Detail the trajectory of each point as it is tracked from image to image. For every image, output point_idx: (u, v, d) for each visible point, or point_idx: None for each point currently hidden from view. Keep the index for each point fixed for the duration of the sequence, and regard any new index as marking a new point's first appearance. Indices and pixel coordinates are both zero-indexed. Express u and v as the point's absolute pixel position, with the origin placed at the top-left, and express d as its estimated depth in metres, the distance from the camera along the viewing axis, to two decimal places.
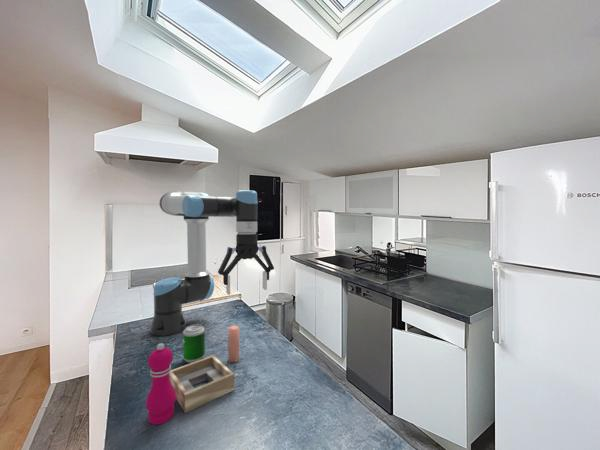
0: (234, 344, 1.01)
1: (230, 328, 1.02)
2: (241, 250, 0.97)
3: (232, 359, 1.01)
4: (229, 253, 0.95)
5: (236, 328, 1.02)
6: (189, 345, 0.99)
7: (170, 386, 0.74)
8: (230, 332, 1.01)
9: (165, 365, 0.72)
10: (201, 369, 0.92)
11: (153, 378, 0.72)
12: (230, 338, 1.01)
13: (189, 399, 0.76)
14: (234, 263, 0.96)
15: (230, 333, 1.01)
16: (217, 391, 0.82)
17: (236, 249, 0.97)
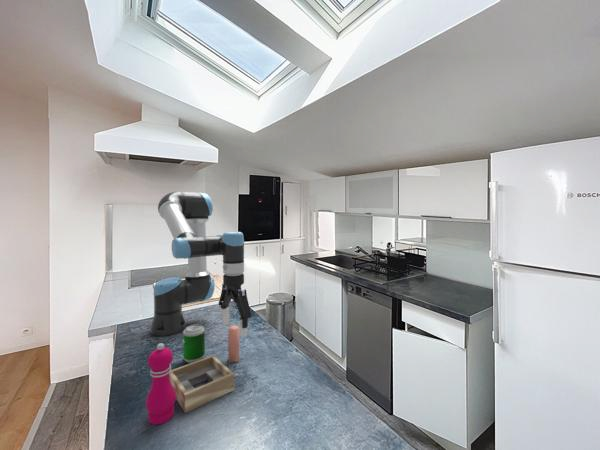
0: (234, 344, 1.01)
1: (230, 328, 1.02)
2: (228, 289, 1.03)
3: (232, 359, 1.01)
4: (222, 288, 1.06)
5: (236, 328, 1.02)
6: (189, 345, 0.99)
7: (170, 386, 0.74)
8: (230, 332, 1.01)
9: (165, 365, 0.72)
10: (201, 369, 0.92)
11: (153, 378, 0.72)
12: (230, 338, 1.01)
13: (189, 399, 0.76)
14: (224, 299, 1.05)
15: (230, 333, 1.01)
16: (217, 391, 0.82)
17: None
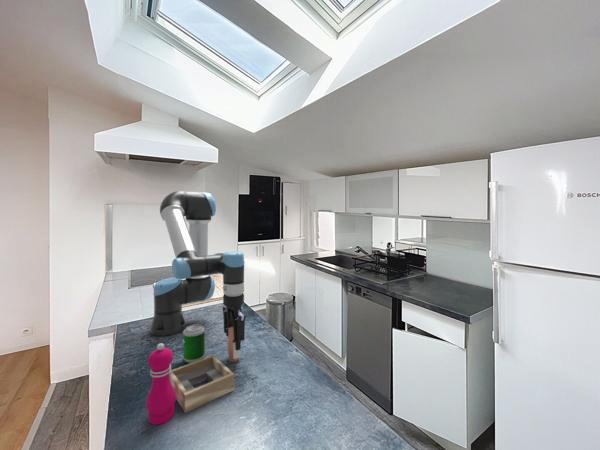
0: None
1: (230, 328, 1.02)
2: (228, 307, 1.03)
3: (232, 359, 1.01)
4: (223, 312, 1.05)
5: None
6: (189, 345, 0.99)
7: (170, 386, 0.74)
8: (230, 332, 1.01)
9: (165, 365, 0.72)
10: (201, 369, 0.92)
11: (153, 378, 0.72)
12: (230, 338, 1.01)
13: (189, 399, 0.76)
14: (227, 323, 1.03)
15: (230, 333, 1.01)
16: (217, 391, 0.82)
17: None
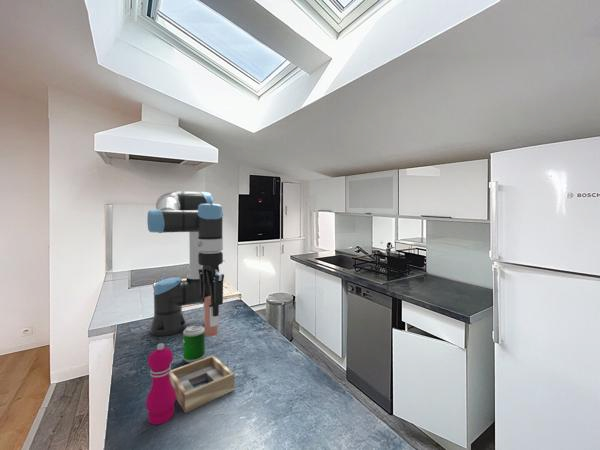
0: None
1: (207, 297, 0.88)
2: (204, 268, 0.89)
3: (209, 333, 0.87)
4: (199, 275, 0.92)
5: None
6: (189, 345, 0.99)
7: (170, 386, 0.74)
8: (206, 301, 0.87)
9: (165, 365, 0.72)
10: (201, 369, 0.92)
11: (153, 378, 0.72)
12: (207, 308, 0.87)
13: (189, 399, 0.76)
14: (204, 286, 0.90)
15: (207, 303, 0.87)
16: (217, 391, 0.82)
17: None
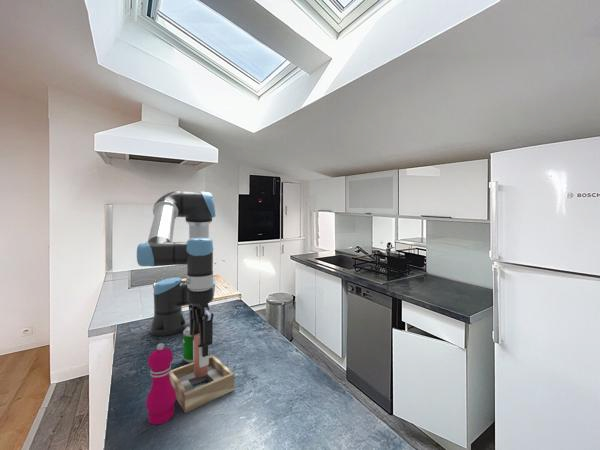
0: None
1: (196, 336, 0.84)
2: (193, 305, 0.86)
3: (198, 373, 0.83)
4: (189, 310, 0.88)
5: None
6: (189, 345, 0.99)
7: (170, 386, 0.74)
8: (196, 341, 0.83)
9: (165, 365, 0.72)
10: None
11: (153, 378, 0.72)
12: (196, 348, 0.83)
13: (189, 399, 0.76)
14: (193, 324, 0.86)
15: (196, 342, 0.83)
16: (217, 391, 0.82)
17: None
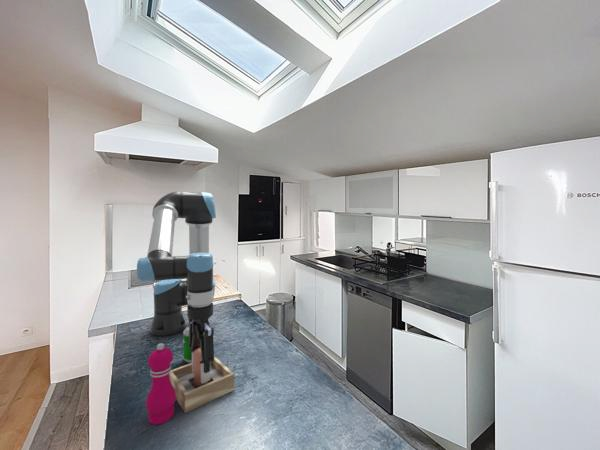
0: (200, 371, 0.84)
1: (196, 351, 0.85)
2: (194, 320, 0.86)
3: None
4: (189, 324, 0.89)
5: None
6: None
7: (170, 386, 0.74)
8: (196, 356, 0.84)
9: (165, 365, 0.72)
10: None
11: (153, 378, 0.72)
12: (196, 364, 0.84)
13: (189, 399, 0.76)
14: (193, 337, 0.87)
15: (196, 358, 0.84)
16: (217, 391, 0.82)
17: None
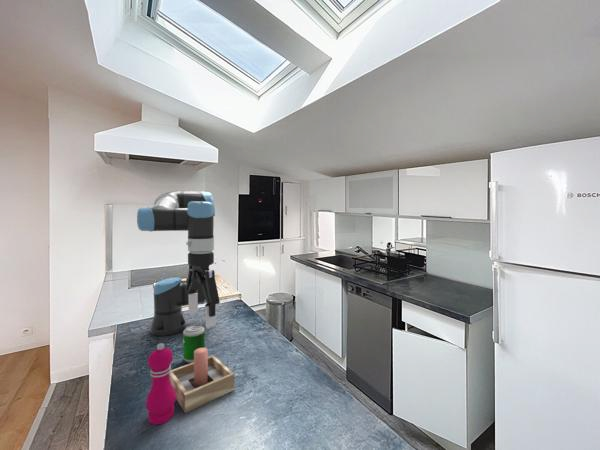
0: (200, 371, 0.84)
1: (196, 351, 0.85)
2: None
3: None
4: (189, 270, 0.89)
5: (203, 351, 0.85)
6: (189, 345, 0.99)
7: (170, 386, 0.74)
8: (196, 356, 0.84)
9: (165, 365, 0.72)
10: None
11: (153, 378, 0.72)
12: (196, 363, 0.84)
13: (189, 399, 0.76)
14: (191, 282, 0.88)
15: (196, 357, 0.84)
16: (217, 391, 0.82)
17: None
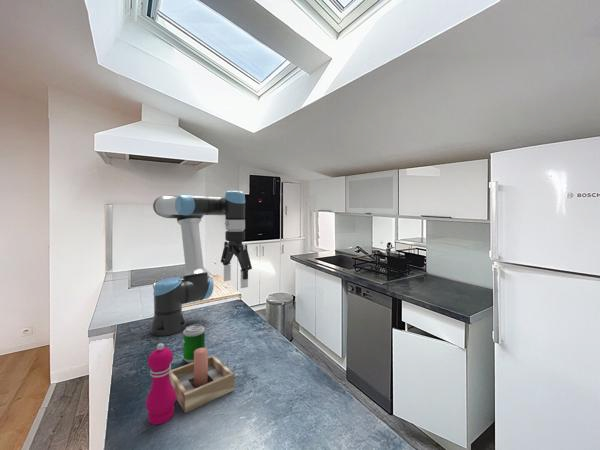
0: (200, 371, 0.84)
1: (196, 351, 0.85)
2: None
3: None
4: (224, 246, 1.12)
5: (203, 351, 0.85)
6: (189, 345, 0.99)
7: (170, 386, 0.74)
8: (196, 356, 0.84)
9: (165, 365, 0.72)
10: None
11: (153, 378, 0.72)
12: (196, 363, 0.84)
13: (189, 399, 0.76)
14: (226, 255, 1.11)
15: (196, 357, 0.84)
16: (217, 391, 0.82)
17: None
